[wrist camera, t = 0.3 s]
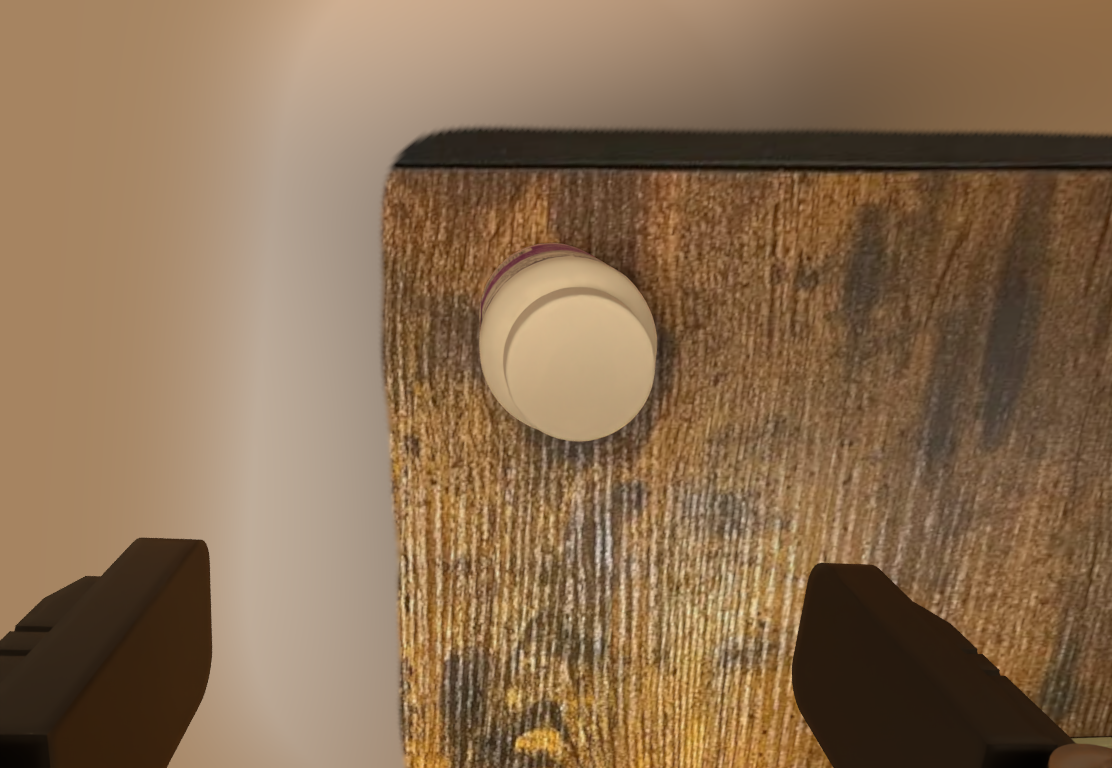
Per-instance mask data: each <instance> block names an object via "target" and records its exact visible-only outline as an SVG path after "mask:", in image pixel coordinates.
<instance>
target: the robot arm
mask: <svg viewBox="0 0 1112 768" xmlns="http://www.w3.org/2000/svg"><path fill="white" fill-rule="evenodd" d="M211 659H212V628H211V595H210V561H209V552H208V548H207V545H206V543H205V542H204V541H203V540H192V539H163V538H139V539H136V540H135V541H134V542H133V543H132V544H131V545H130V546H129V547H128V548H127V549H126V550H125V551H124V552H123V554H122V555H121V556H120V557H119V558H118V559H117V560H116V561H115V562H114V563H113V564H112V565H111V566H110V568H108V569H107V570H106V572H105V573H104V574H103V575H102V576H101V577H100V576H99V577H97V576H85V577H83V578H81V579H79V580H77V581H75V582H74V583H72V584H70V585H68V586H66V587H64V588H62V589H61V590H59V591H57V592H55V593H53V594H51V595H49V596H47V597H45V598H44V599H43V600H42V601H41V602H40V603H39V604H37V606H35V607H34V608H33V609H32V610H31V611H30V612H29V613H28V614H27V615H26V616H25V617H24V618H23V619H22V620H21V621H20V622H19V623H18V624H17V625H16V627H15V631H14V632H11V631H10V632H9V633H8V634H7V635H6V636H5V637H4V638H3V639H1V640H0V768H167V766H168V764H169V762H170V760H171V758H172V756H173V754H174V752H175V751H176V749H177V747H178V745H179V743H180V741H181V739H182V737H183V736H184V734H185V732H186V730H187V728H188V726H189V724H190V722H191V720H192V718H193V717H194V715H195V712H196V711H197V709H198V707H199V705H200V703H201V701H202V699H203V696H204V693H205V690H206V687H207V683H208V679H209V674H210V668H211ZM999 671H1000V670H999V669H998V668H997V667H995V666H994V665H993V664H992V663H991V662H990V661H989V660H988V659H987V658H986V657H985V656H984V655H983V654H978V653H977V648H976V647H974V646H973V645H972V644H971V643H970V642H969V641H968V640H967V639H966V638H965V637H964V636H963V635H962V634H961V633H960V632H959V631H958V630H957V629H956V628H955V627H953V626H952V625H951V624H950V623H948V622H947V621H945V620H943V619H942V618H940V617H938V616H937V615H935V614H933V613H932V612H930V611H928V610H927V609H925V608H923V607H921V606H920V605H918V604H916V603H915V602H913V601H912V600H911V599H910V598H908V597H907V596H906V595H905V594H904V593H903V592H902V591H901V590H900V589H899V588H898V587H897V586H896V585H895V584H894V583H893V582H892V581H891V580H890V579H889V578H888V577H887V576H886V575H885V574H884V573H883V572H882V571H881V570H880V569H879V568H878V567H876V566H874V565H865V564H836V563H819V564H817V565H816V566H815V567H814V568H813V569H812V571H811V573H810V576H809V579H808V583H807V589H806V594H805V599H804V604H803V610H802V615H801V620H800V625H799V631H798V636H797V641H796V646H795V652H794V657H793V663H792V684H793V691H794V695H795V699H796V703H797V705H798V708H799V710H800V712H801V714H802V716H803V717H804V719H805V721H806V722H807V724H808V726H809V727H810V729H811V731H812V732H813V734H814V736H815V737H816V739H817V741H818V742H819V744H820V746H821V747H822V749H823V751H824V752H825V754H826V756H827V757H828V759H829V761H830V762H831V764H832V766H833V767H834V768H1112V748H1108V747H1103V746H1099V745H1092V744H1078V743H1075V742H1074V741H1073V740H1072V739H1071V738H1070V737H1069V736H1068V735H1067V734H1066V733H1065V732H1064V731H1063V730H1062V729H1061V728H1059V727H1058V726H1057V725H1056V724H1055V723H1054V722H1053V721H1052V720H1051V719H1050V718H1049V717H1048V716H1047V715H1046V714H1045V713H1044V712H1043V711H1042V710H1041V709H1040V708H1038V707H1037V706H1036V705H1035V704H1034V703H1033V702H1032V701H1031V700H1030V699H1029V698H1028V697H1027V696H1026V695H1025V694H1024V693H1023V692H1022V691H1021V690H1020V689H1019V688H1017V687H1016V686H1015V685H1014V684H1013V683H1012V682H1011V681H1010V680H1009V679H1008V678H1007V677H1006V676H1000V673H999Z"/></svg>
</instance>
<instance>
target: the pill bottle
mask: <svg viewBox="0 0 1112 768" xmlns="http://www.w3.org/2000/svg"><path fill="white" fill-rule="evenodd" d="M479 319H480V343H479V348H480V360H481V367H482V371H483V374H484V377H485V380H486V382H487V384H488V386H489V388H490V390H491V392H492V393H493V395H494V396H495V398H496V399H497V400H498V402H499V403H500V404H501V405H502V406H503V407H504V409H505V410H506V411H507V412H509V413H510V414H511V415H512V416H513V417H515V418H516V419H518V420H519V421H521V422H523V423H524V424H526V425H528V426H530V427H533V428H535V429H538V430H540V431H541V432H543V433H545V434H547V435H549V436H552V437H555V438H558V439H562V440H568V441H590V440H596V439H599V438H602V437H605V436H608V435H610V434H612V433H614V432H616V431H618V430H619V429H621V428H622V427H624V426H625V425H626V424H628V423H629V422H630V421H631V420H632V419H633V418H634V417H635V416H636V415H637V414H638V412H639V411H640V410H641V409H642V407H643V405H644V404H645V402H646V400H647V398H648V396H649V394H650V391H651V388H652V385H653V380H654V375H655V361H656V354H657V335H656V328H655V323H654V320H653V317H652V314H651V311H650V309H649V307H648V305H647V303H646V301H645V299H644V298H643V296H642V295H641V293H640V292H639V290H638V289H637V288H636V286H635V285H634V284H633V283H632V282H631V281H630V280H629V279H628V278H627V277H626V276H625V275H624V274H622V273H621V272H619V271H618V270H616V269H615V268H613V267H611V266H609V265H607V264H606V263H604V262H602V261H601V260H599V259H597V258H596V257H594V256H592V255H591V254H589V253H587V252H585V251H583V250H581V249H578V248H576V247H573V246H569V245H566V244H560V243H543V244H536V245H532V246H529V247H526V248H524V249H521V250H519V251H517V252H516V253H514V254H512V255H511V256H509V257H508V258H507V259H506V260H504V261H503V262H502V263H501V264H500V265H499V266H498V267H497V269H496V270H495V271H494V272H493V274H492V275H491V277H490V278H489V280H488V282H487V284H486V286H485V288H484V291H483V295H482V298H481V302H480V311H479Z"/></svg>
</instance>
